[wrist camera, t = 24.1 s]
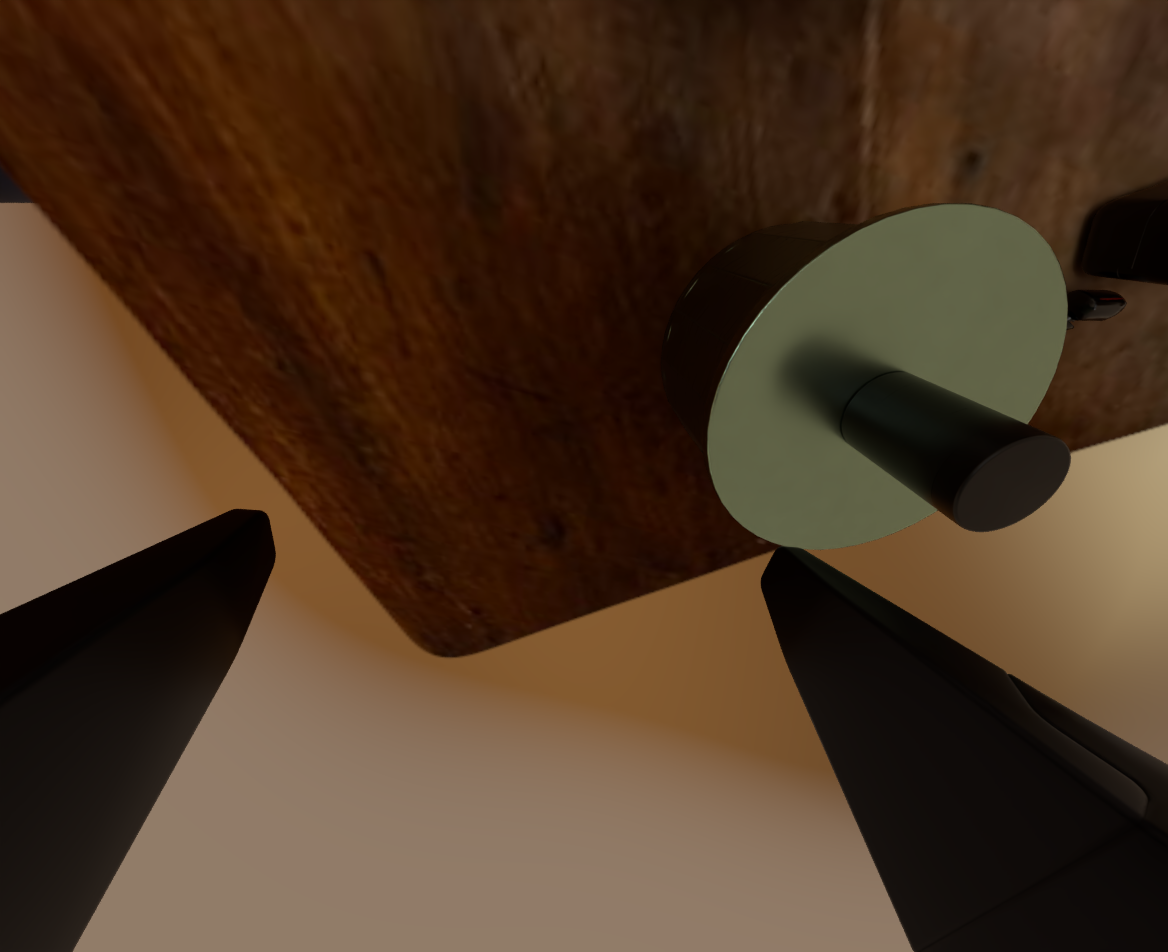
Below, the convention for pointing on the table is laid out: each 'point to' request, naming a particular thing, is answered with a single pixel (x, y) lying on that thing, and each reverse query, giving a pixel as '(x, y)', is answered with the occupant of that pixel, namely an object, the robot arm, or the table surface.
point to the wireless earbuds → (1123, 251)
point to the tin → (727, 309)
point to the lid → (893, 382)
